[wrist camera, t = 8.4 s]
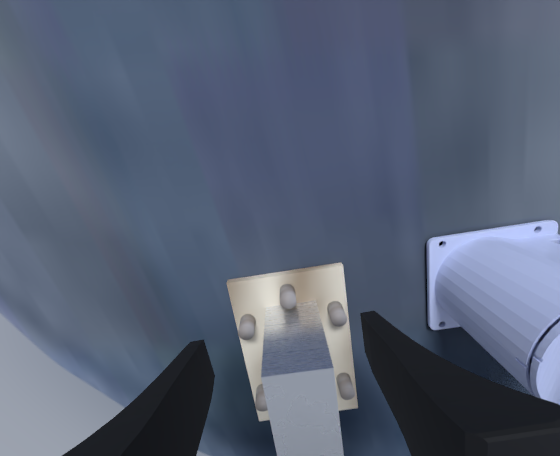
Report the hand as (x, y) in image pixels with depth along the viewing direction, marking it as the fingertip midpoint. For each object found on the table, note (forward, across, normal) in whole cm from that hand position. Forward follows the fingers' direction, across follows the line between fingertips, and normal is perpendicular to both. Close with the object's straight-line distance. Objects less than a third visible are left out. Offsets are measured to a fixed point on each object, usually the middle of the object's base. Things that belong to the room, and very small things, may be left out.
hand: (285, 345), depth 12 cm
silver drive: (+9, 0, +7) cm, 11 cm away
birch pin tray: (+9, 0, +8) cm, 12 cm away
